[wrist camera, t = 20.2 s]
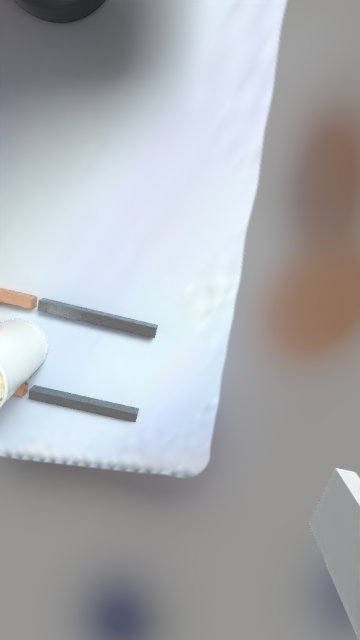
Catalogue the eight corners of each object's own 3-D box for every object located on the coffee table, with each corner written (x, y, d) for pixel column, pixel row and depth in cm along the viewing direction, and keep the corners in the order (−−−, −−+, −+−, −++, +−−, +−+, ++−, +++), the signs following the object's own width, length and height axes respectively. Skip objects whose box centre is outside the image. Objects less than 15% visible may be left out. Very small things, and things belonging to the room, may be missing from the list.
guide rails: (43, 298, 42) (38, 300, 40) (157, 325, 42) (156, 328, 41) (33, 393, 46) (28, 398, 44) (137, 416, 46) (135, 422, 45)
